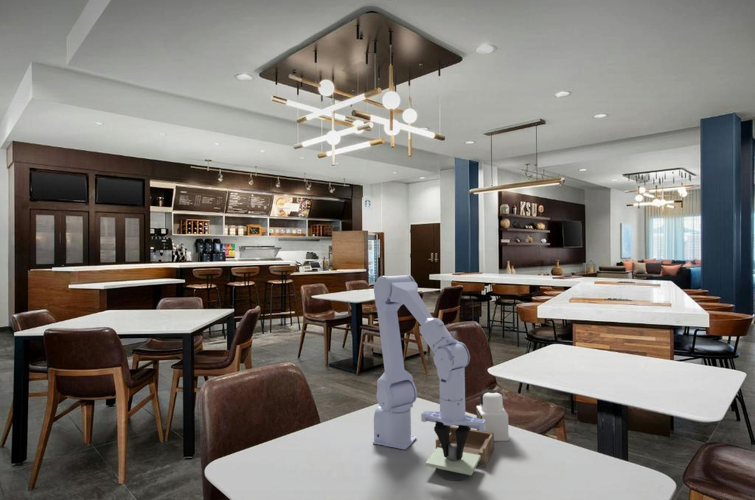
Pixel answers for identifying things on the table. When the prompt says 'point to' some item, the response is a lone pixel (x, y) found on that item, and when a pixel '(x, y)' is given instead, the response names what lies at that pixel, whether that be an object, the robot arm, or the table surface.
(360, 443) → the table surface
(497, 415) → the medicine bottle
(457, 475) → the rubber coaster
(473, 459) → the cover plate
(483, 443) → the walnut box
